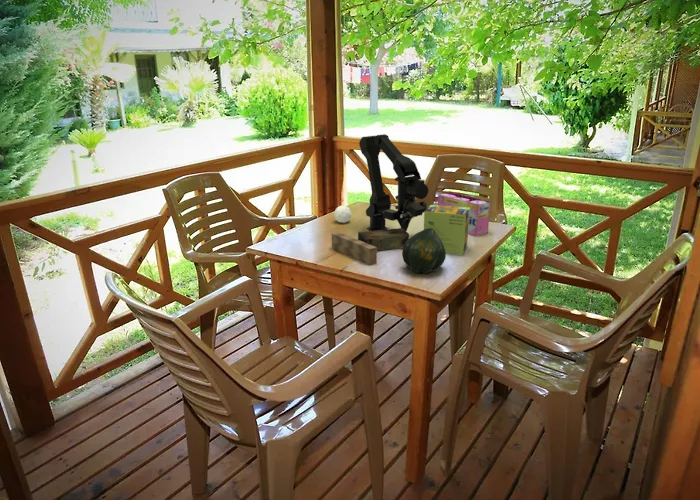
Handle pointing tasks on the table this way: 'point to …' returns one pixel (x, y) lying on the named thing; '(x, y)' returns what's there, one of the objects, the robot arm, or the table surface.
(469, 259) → the table surface
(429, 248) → the squash
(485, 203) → the gum box
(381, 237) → the printed cardboard box
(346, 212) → the ball
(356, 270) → the table surface
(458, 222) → the protein box
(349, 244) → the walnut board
